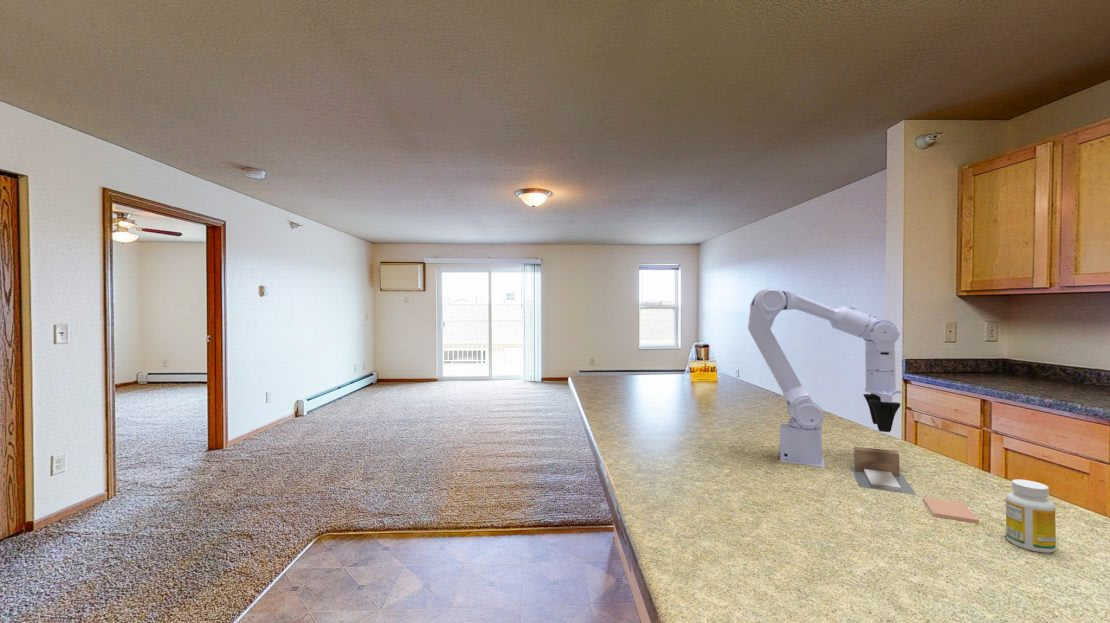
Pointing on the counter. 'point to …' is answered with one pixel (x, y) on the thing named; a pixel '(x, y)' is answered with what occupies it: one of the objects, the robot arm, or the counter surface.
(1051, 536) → the supplement bottle
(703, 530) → the counter surface
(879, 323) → the robot arm
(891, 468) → the brown grey l-shaped piece
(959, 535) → the counter surface
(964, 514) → the tile
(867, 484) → the tool rest
